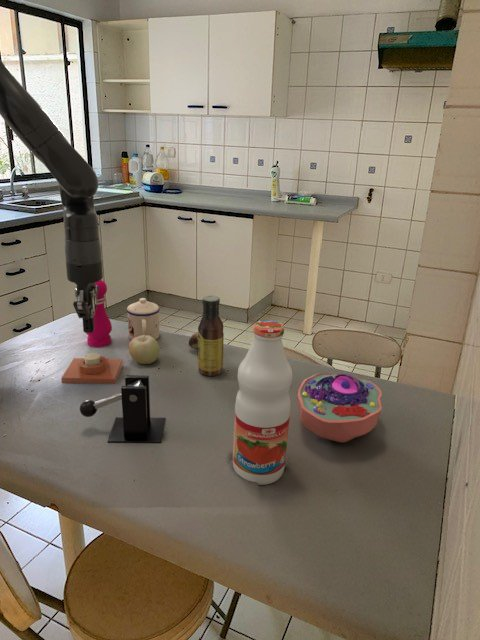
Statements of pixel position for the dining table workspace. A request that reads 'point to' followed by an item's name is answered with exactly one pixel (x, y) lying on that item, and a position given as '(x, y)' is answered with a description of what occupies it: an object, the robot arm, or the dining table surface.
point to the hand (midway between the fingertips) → (89, 331)
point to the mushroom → (194, 341)
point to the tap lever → (102, 402)
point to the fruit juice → (263, 407)
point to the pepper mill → (100, 320)
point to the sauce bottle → (210, 338)
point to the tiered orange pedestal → (93, 371)
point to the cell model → (339, 405)
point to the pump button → (92, 359)
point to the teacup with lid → (143, 319)
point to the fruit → (144, 349)
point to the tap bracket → (136, 415)
